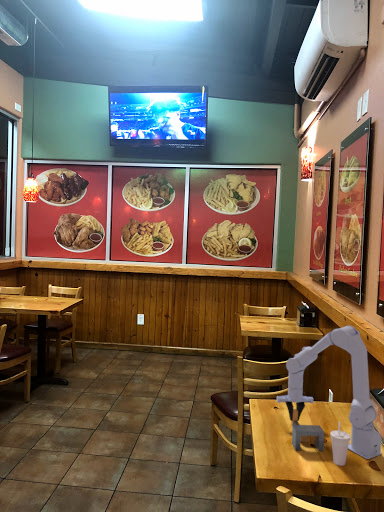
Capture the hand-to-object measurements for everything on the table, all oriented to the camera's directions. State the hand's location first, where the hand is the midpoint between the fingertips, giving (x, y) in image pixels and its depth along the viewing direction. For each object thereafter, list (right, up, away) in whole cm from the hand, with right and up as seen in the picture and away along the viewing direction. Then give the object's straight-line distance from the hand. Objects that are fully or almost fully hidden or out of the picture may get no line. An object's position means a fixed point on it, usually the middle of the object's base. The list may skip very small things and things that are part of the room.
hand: (294, 419), depth 166 cm
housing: (0, -2, -19) cm, 19 cm away
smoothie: (+8, -3, -29) cm, 30 cm away
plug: (0, -2, -7) cm, 8 cm away
